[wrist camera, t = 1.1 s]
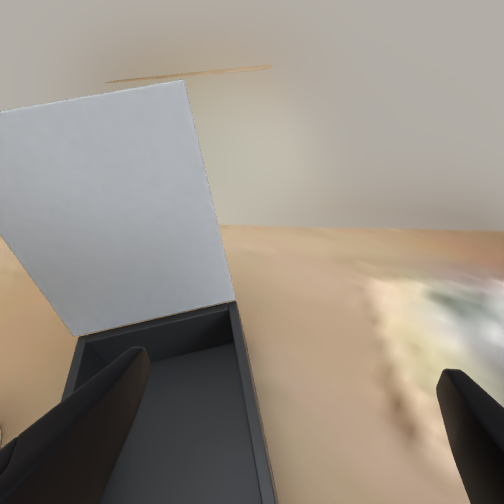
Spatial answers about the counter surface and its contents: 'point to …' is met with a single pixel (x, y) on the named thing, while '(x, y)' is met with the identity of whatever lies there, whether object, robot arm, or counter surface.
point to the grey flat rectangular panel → (112, 206)
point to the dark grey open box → (186, 412)
